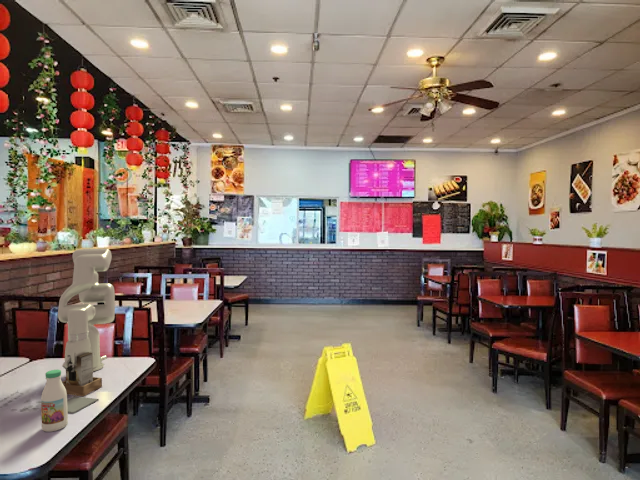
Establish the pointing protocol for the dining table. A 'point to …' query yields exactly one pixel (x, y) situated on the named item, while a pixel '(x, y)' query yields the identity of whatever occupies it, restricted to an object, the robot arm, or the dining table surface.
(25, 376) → the dining table surface
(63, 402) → the milk bottle
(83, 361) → the coffee box
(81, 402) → the mat
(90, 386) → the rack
